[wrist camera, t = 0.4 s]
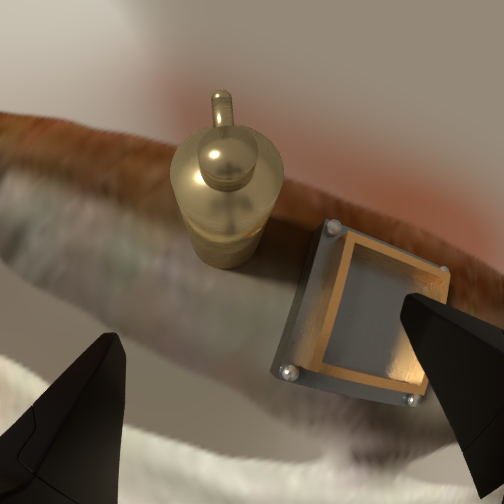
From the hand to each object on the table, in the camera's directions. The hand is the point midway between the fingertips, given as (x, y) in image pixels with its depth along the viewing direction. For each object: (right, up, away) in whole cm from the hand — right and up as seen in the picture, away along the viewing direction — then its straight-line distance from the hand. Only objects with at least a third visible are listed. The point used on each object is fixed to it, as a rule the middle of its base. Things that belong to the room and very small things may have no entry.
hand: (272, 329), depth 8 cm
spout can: (-3, +3, +14) cm, 15 cm away
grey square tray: (+8, -3, +13) cm, 16 cm away
